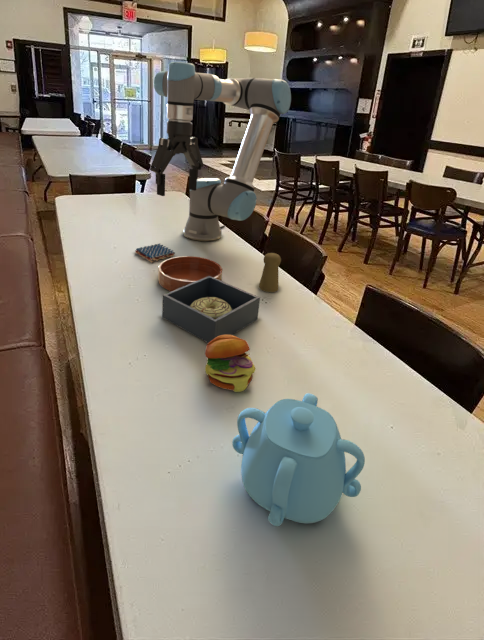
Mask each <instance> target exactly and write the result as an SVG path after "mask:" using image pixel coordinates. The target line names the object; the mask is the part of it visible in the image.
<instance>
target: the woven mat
mask: <svg viewBox="0 0 484 640" xmlns="http://www.w3.org/2000/svg"><path fill="white" fill-rule="evenodd" d="M134 252H135V254H137V255H139V256H140V257H142V259H145V260H147V261H148V262H150V263H151V264H152V263H153V262H154V261H156V262H159V260H163V259H164V260H167V258H169V259H170V258H172V257H175V253H176V252H174V250H173V249H171V248H169V247H166V246H165V245H164V244H161V243H157V244H156V243H155V244H151V245H144V246H143V247H142V246H140V247H137V248H135V250H134Z"/></svg>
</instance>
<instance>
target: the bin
mask: <svg viewBox="0 0 484 640" xmlns="http://www.w3.org/2000/svg"><path fill="white" fill-rule="evenodd" d="M206 297H216V298H219V299H222V300H224V301H226V302H227V303H228V304H229V305H230V306H231V308H232V311H230V312H228V313H226V314H224V315H222V316H221V317H219V318H217V319H214V318H212V317H210V316H208V315H206V314H204V313H202V312H200V311H198V310H196V309H194V308H192V307H190V305H191V304H192V303H193V302H194V301H195V300H198V299H200V298H206ZM161 303H162V305H161V306H162V311H161V318H162V319H164V320H166V321H167V322H170V323H172V325H175V326H176V327H179V328H180V329H181V330H184V331H186V332H188V333H189V334H191V335H193V336H195V337H197V338H198V339H200V340H201V341H204V342H206V343H207V344H208V343H209V342H210V341H211V340H213V339H214V338H216V337H217V336H220V335H233V336H234V335H235V334H236V333H238V332H240V331H241V330H243V329H244V328H246V327H247V326H249V325H251V324H252V323H254V322H256V321H257V320H258V319H259V312H260V310H259V309H260V303H261V297H260V296H258V295H255V294H253V293H251V292H248V291H246V290H244V289H241V288H239V287H236V286H234V285H232V284H230V283H227V282H225V281H223V280H222V281H220V280H218V279H216V278H213V277H211V276H208V277H205V278H203V279H200V280H198V281H196V282H193V283H191V284H188V285H186V286H183V287H181V288H179V289H176V290H174V291H168V292H167V293H164V294H162V302H161Z"/></svg>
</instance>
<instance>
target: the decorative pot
mask: <svg viewBox="0 0 484 640" xmlns="http://www.w3.org/2000/svg"><path fill="white" fill-rule="evenodd" d="M318 400H319V398H318V396H317V395H315V394H313V393H309V392H307V393H305V394H304V395H303V397H302V400H298V399H293V398H283V399H280V400H278V401H276V402H275V403H274V404H273V405H272V406H271V407H270V408H268V410H267V411H266V412H264V410H261V409H259V408H256V407H247V408H244V409H243V410H241V411H240V413H239V414H238V416H237V421H236V425H237V432H238V434H236V435H235V436H234V437H233V439H232V441H231V442H232V443H231V444H232V448H233V449H234V451H235V452H236V453H238V454H239V455H242V459H241V467H240V468H241V469H240V475H241V480H242V485H243V487H244V489H245V491H246V493H247V494H248V496H249V497H250V498H251V499H252V500H253V501H254V503H256V504H257V505H259V506H260V507H262V508H263V509H264V510H266V511H268V512H269V514H268V517H267V521H268V522H269V524H271V525H272V526H273V527H280V526H281V525H282V524H283V523H284V521H285V520H290V521H292V522H294V523H298V524H299V523H300V524H315V523H318V522H320V521H323V520H325V519H326V518H327V517H329V516H330V515H331V514H332V513H333V511H334V510H335V509H336V507H337V506H338V505H339V502H340V501H341V498H342V496H343V495H344V496H346V497H349V498H355V497H358V496H359V495H360V493H361V492H362V484H361V483H360V481H359V480H358V479H357V477H358V476H360V474H361V472H362V471H363V469H364V467H365V462H366V459H365V454H364V452H363V450H362V449H361V448H360V446H358V444H356V443H355V442H353V441H351V440H348V439H344V438H342V436H341V433H340V430H339V427H338V425H337V422H336V420H335V418H334V417H333V416H332V414H331V413H330V412H329V411H327V410H325V409H324V408H321V407H319V406H318ZM247 418H248V419H252V420H254V421H257V422H256V424H255V425H254V427H253V429H252V430H251V433H250V434H249V431H248V427H247V423H246V419H247ZM345 453H347V454H349V455H351V456H353V457H354V458H355V459H356V461H355V463H354V464H353V465H352V466H351V467H350V468H349V469H348V471H347V468H346V467H347V465H346V455H345Z"/></svg>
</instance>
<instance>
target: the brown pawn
mask: <svg viewBox="0 0 484 640" xmlns="http://www.w3.org/2000/svg"><path fill="white" fill-rule="evenodd" d="M281 262H282V258H281V255H279V254H277V253H275V252H268V253H266V254H265V255H264V256H263V263H264V266H263V270H262V272H261V276H260V280H259V285H258V289H260V290H261V291H263V292H266V293H275V292H278V291H279V267H280V265H281Z"/></svg>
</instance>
